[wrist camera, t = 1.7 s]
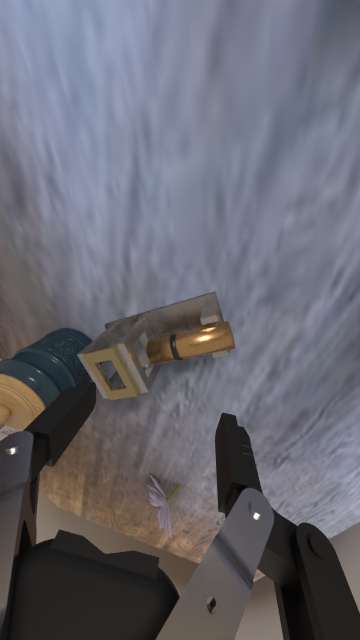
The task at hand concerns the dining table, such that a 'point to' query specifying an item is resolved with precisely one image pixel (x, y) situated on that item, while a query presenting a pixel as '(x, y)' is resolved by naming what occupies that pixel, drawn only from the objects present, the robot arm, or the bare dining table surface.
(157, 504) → the water lily
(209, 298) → the collar stand
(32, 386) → the canister
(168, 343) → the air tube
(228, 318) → the dining table surface
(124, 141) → the dining table surface
